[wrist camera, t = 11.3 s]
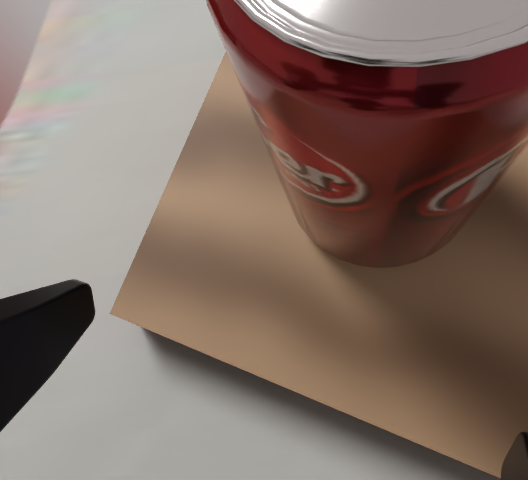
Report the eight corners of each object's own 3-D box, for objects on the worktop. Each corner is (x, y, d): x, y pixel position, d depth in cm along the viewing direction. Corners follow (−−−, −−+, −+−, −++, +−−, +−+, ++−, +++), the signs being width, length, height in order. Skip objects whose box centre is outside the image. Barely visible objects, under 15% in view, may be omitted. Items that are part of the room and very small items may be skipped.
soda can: (468, 103, 18) (663, -340, 7) (476, 275, 16) (766, 69, 5) (295, 110, 19) (212, -239, 8) (284, 268, 18) (157, 98, 6)
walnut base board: (541, 487, 16) (573, 509, 14) (137, 319, 21) (109, 313, 19) (634, 76, 19) (673, 37, 17) (267, 16, 24) (258, -21, 22)
